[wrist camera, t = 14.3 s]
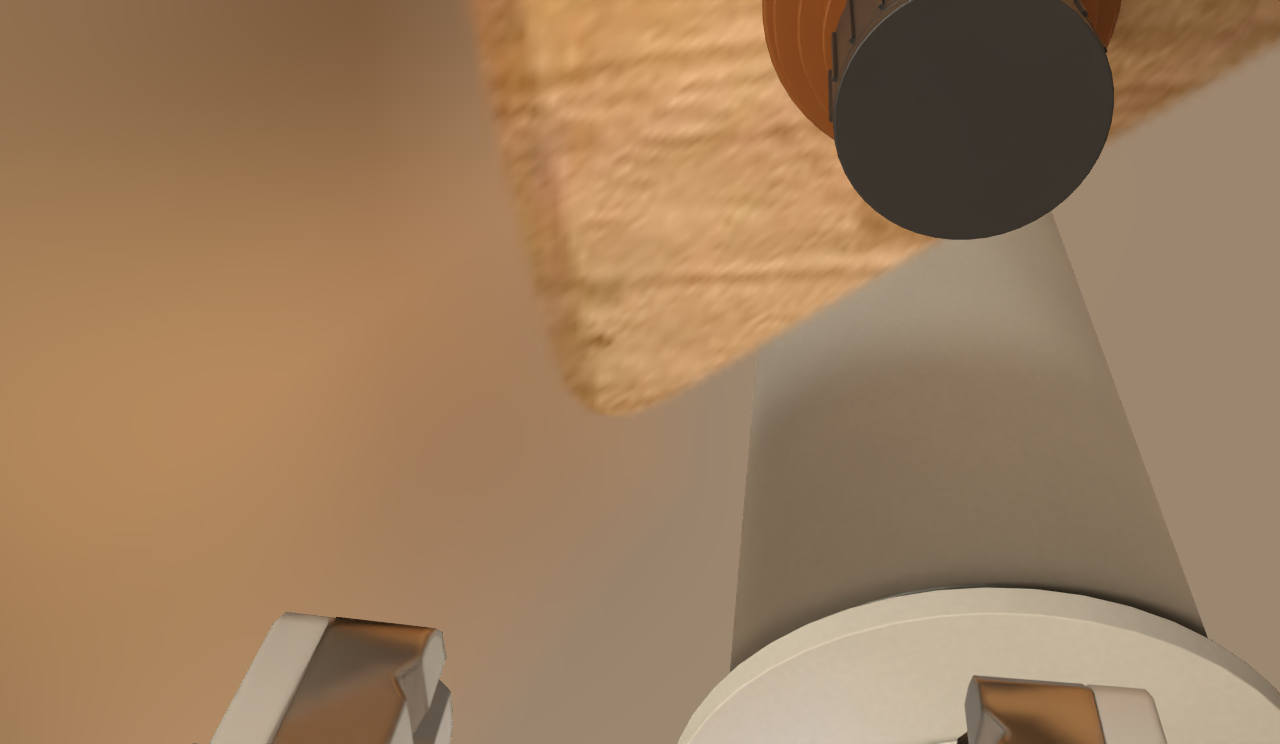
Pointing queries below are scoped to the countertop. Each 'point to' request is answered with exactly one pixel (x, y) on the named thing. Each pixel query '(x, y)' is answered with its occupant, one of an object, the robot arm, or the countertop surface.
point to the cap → (967, 109)
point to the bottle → (801, 47)
